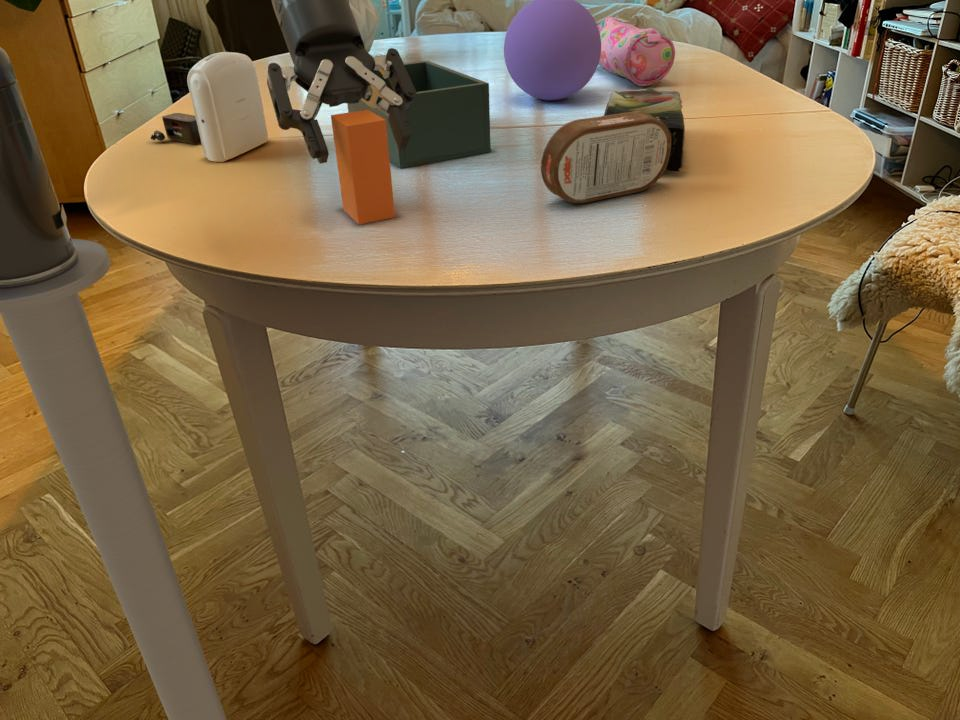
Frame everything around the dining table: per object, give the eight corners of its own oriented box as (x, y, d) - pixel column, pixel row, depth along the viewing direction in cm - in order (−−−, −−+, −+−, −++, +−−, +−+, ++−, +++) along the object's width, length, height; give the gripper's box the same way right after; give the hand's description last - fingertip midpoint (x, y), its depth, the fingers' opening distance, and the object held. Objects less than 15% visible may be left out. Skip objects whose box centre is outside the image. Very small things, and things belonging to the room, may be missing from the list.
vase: (329, 76, 143) (314, -34, 133) (289, 65, 154) (273, -37, 144) (400, 63, 152) (391, -41, 142) (357, 54, 163) (346, -44, 153)
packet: (358, 224, 77) (346, 125, 72) (343, 210, 81) (330, 114, 76) (395, 217, 79) (385, 119, 74) (378, 203, 83) (368, 109, 77)
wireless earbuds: (178, 134, 110) (173, 111, 109) (210, 140, 107) (205, 117, 105) (151, 142, 107) (145, 119, 105) (183, 149, 104) (177, 125, 102)
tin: (655, 180, 86) (661, 104, 81) (672, 188, 83) (680, 110, 79) (538, 204, 81) (539, 123, 76) (553, 213, 78) (554, 131, 74)
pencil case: (583, 67, 142) (585, 14, 138) (629, 63, 144) (632, 11, 139) (622, 91, 124) (625, 31, 120) (674, 86, 126) (680, 27, 121)
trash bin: (400, 168, 93) (393, 96, 88) (350, 134, 107) (343, 71, 103) (490, 151, 98) (489, 83, 93) (432, 121, 112) (428, 60, 107)
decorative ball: (573, 85, 129) (575, -13, 122) (615, 103, 117) (622, -4, 109) (491, 94, 125) (488, -6, 117) (526, 115, 113) (526, 5, 105)
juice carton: (604, 128, 105) (607, 82, 101) (677, 130, 103) (682, 83, 100) (595, 176, 88) (598, 123, 85) (682, 179, 86) (689, 125, 83)
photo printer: (226, 163, 97) (205, 61, 91) (200, 161, 99) (176, 60, 92) (274, 142, 105) (257, 47, 99) (248, 139, 107) (230, 46, 100)
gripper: (372, 32, 84) (421, 159, 82) (244, 46, 79) (292, 183, 76) (385, -18, 78) (439, 120, 75) (246, -6, 72) (298, 143, 70)
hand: (365, 151), depth 76 cm, fingers open, 8 cm apart
